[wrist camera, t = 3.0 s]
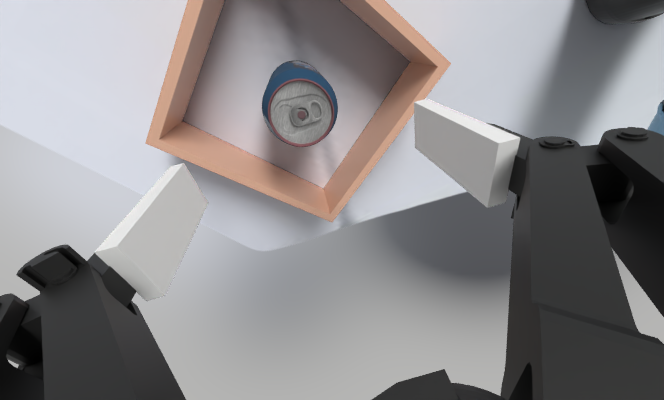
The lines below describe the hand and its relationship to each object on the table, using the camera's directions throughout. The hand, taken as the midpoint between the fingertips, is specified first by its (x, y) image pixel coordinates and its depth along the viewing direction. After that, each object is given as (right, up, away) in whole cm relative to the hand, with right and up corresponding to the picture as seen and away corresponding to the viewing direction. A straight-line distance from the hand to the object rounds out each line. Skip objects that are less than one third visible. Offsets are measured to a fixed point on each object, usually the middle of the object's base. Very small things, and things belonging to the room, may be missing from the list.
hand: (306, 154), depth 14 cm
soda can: (-3, +11, +17) cm, 21 cm away
